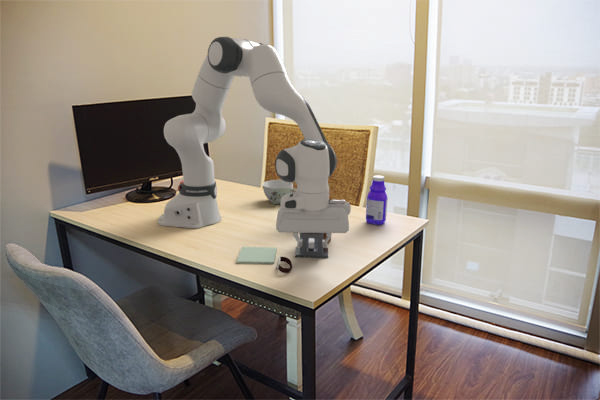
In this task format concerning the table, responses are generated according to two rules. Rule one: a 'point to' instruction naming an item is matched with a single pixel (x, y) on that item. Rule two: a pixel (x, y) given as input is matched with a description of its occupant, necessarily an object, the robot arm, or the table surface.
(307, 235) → the link
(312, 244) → the hook stand
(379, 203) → the bottle
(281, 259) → the watch
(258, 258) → the mat
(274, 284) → the table surface
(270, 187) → the teacup
